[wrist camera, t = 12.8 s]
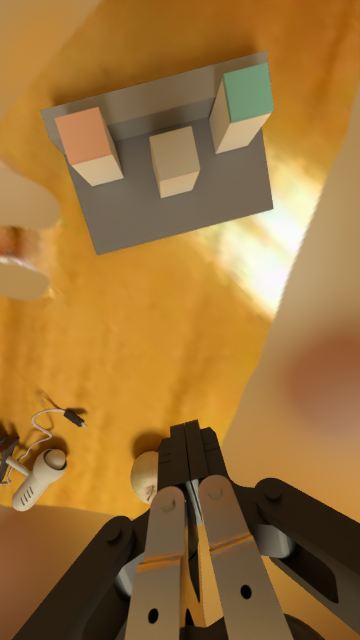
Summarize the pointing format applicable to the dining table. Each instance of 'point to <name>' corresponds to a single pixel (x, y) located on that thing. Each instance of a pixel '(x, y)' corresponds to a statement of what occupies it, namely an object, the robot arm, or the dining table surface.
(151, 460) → the fruit
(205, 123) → the grey base
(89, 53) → the dining table surface
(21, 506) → the clip-on lamp
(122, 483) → the dining table surface
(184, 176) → the beige tall block
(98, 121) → the beige and orange block
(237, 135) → the beige and green block
